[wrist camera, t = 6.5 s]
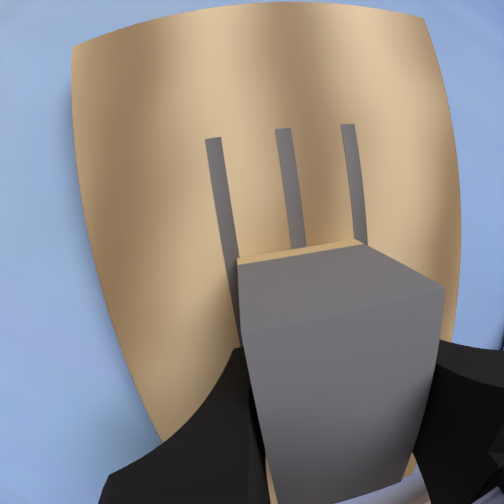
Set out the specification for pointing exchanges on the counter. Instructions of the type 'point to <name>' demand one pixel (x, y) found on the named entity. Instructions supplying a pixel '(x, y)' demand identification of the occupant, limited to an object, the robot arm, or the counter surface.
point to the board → (253, 170)
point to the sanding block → (337, 365)
